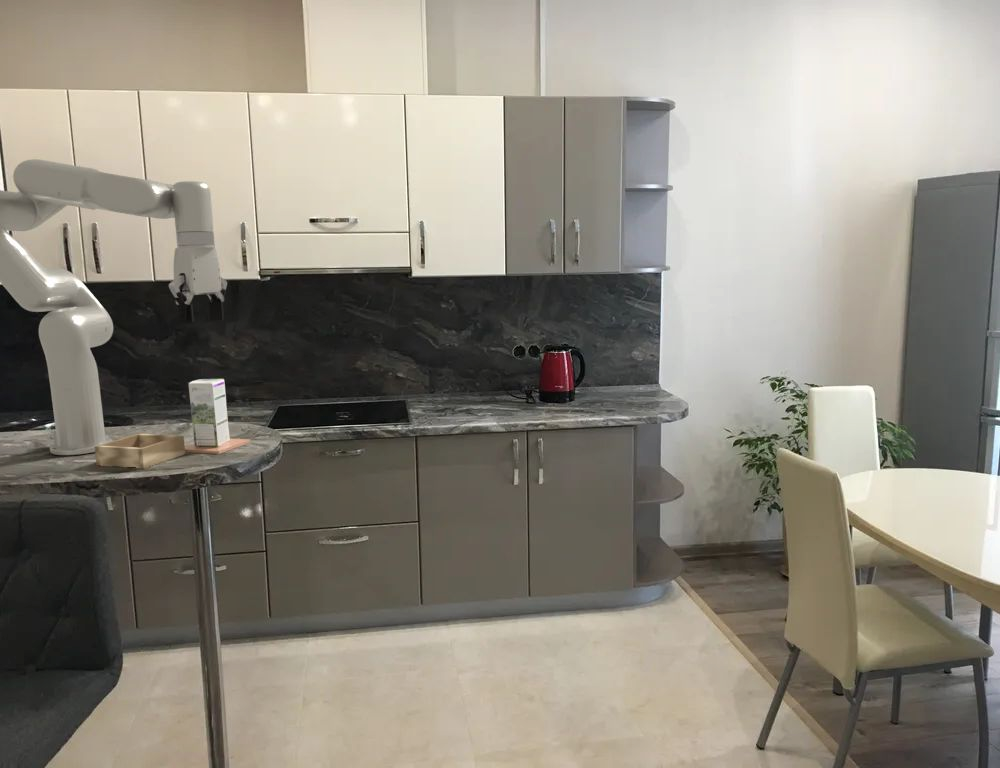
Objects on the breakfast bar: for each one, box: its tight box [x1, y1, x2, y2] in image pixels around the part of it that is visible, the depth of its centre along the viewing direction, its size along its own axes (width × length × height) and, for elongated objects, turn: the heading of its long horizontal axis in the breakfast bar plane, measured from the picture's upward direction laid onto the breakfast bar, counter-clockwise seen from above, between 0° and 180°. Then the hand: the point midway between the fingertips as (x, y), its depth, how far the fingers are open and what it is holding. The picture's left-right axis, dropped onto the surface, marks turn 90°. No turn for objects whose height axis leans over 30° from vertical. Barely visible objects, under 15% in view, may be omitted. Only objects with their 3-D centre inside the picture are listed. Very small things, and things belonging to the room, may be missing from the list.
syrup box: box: [188, 378, 231, 447], centre depth 169 cm, size 6×6×14 cm
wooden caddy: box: [94, 433, 186, 469], centre depth 161 cm, size 12×12×4 cm
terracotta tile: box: [184, 438, 251, 455], centre depth 171 cm, size 11×11×1 cm
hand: (202, 321), depth 166 cm, fingers open, 9 cm apart
